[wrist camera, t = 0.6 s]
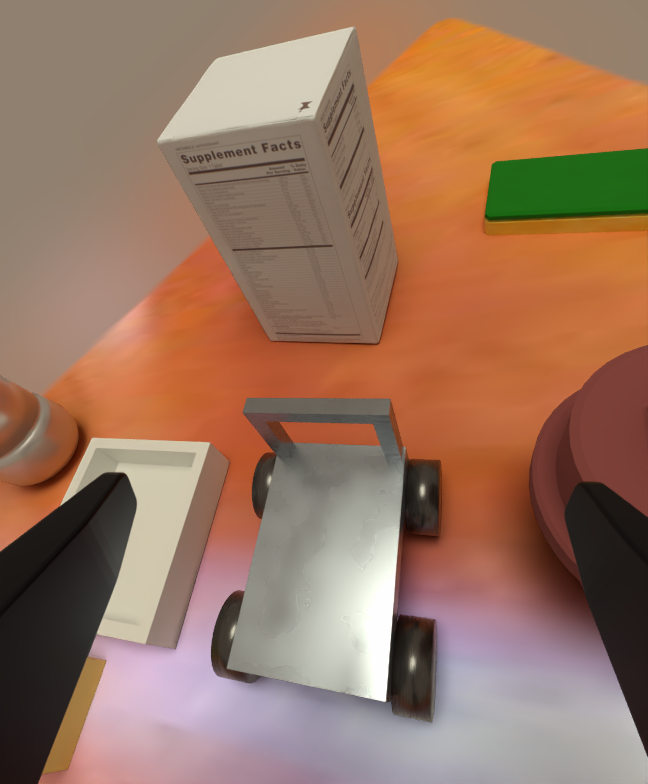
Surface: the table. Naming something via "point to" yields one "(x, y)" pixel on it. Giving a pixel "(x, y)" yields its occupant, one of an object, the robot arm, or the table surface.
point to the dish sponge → (569, 194)
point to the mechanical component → (593, 447)
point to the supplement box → (292, 186)
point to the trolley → (334, 561)
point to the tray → (157, 530)
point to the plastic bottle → (33, 436)
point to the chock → (75, 716)
